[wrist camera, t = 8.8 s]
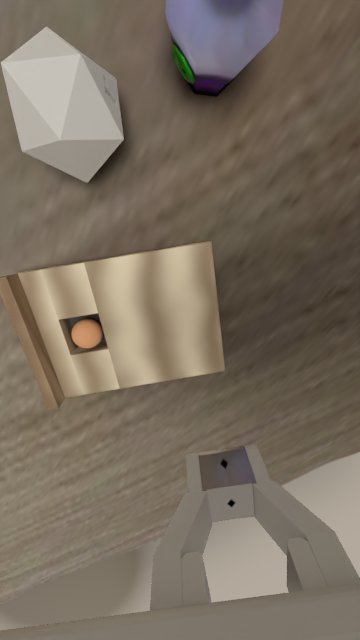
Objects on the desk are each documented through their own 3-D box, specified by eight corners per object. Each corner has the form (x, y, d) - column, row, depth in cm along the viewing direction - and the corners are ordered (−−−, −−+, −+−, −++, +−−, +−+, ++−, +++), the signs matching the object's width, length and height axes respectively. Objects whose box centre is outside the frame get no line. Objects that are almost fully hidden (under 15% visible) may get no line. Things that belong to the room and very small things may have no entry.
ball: (103, 313, 29) (89, 324, 26) (110, 339, 31) (98, 352, 27) (77, 315, 30) (60, 327, 27) (85, 341, 31) (70, 354, 28)
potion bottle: (147, 84, 23) (130, -64, 12) (189, -29, 21) (219, -348, 9) (224, 134, 25) (275, 49, 13) (271, 36, 22) (380, -167, 11)
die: (111, 203, 27) (149, 137, 18) (13, 186, 22) (4, 87, 13) (101, 128, 27) (135, 29, 19) (2, 95, 22) (-13, -59, 14)
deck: (207, 241, 28) (214, 242, 24) (220, 361, 33) (228, 379, 29) (19, 272, 28) (-7, 278, 24) (63, 387, 33) (48, 409, 29)
